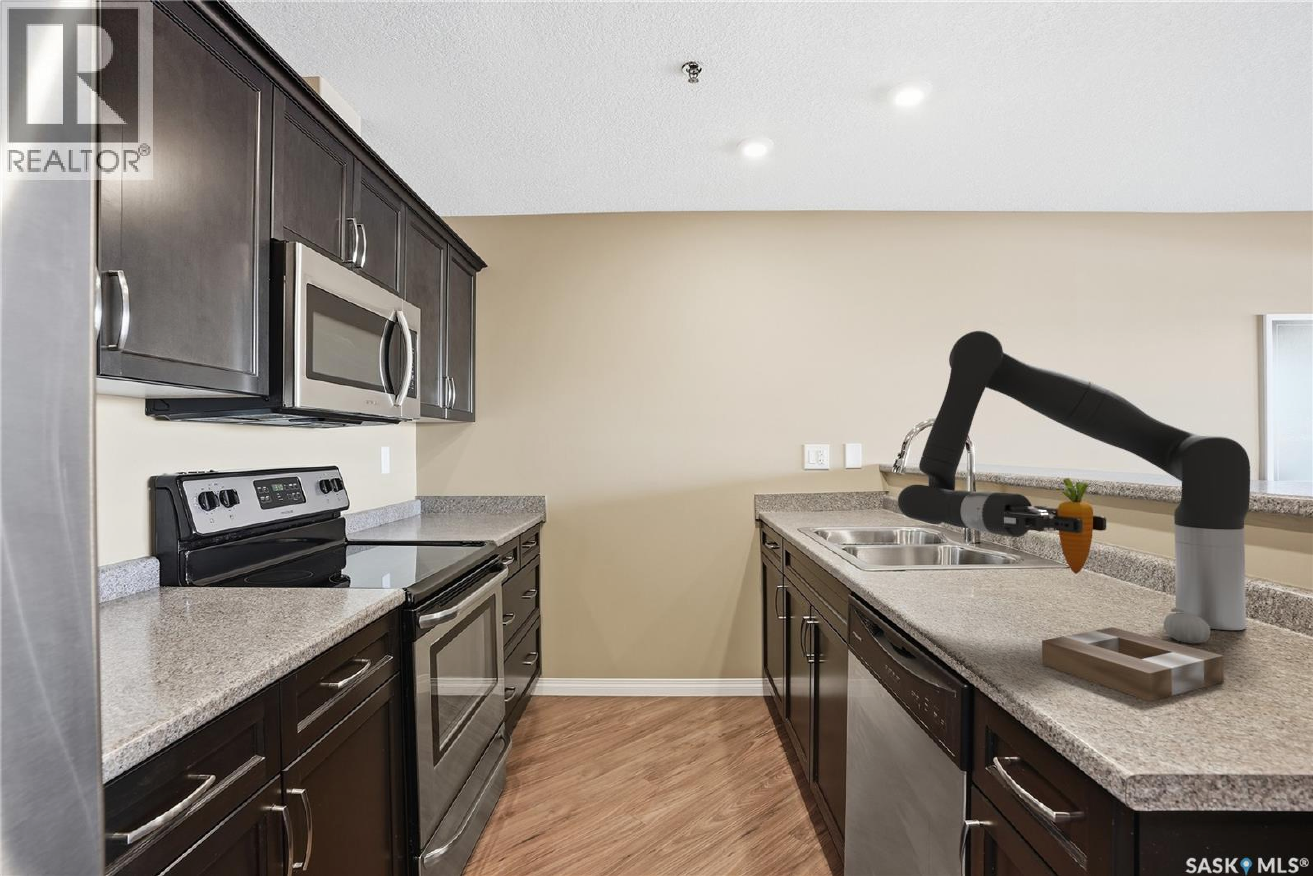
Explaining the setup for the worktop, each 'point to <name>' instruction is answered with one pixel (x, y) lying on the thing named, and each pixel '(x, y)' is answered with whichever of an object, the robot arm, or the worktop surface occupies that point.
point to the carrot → (1079, 543)
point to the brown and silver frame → (1133, 662)
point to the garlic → (1186, 627)
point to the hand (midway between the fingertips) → (1092, 524)
